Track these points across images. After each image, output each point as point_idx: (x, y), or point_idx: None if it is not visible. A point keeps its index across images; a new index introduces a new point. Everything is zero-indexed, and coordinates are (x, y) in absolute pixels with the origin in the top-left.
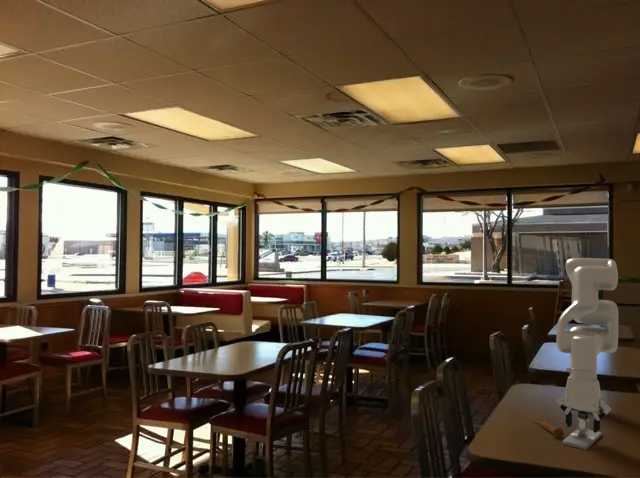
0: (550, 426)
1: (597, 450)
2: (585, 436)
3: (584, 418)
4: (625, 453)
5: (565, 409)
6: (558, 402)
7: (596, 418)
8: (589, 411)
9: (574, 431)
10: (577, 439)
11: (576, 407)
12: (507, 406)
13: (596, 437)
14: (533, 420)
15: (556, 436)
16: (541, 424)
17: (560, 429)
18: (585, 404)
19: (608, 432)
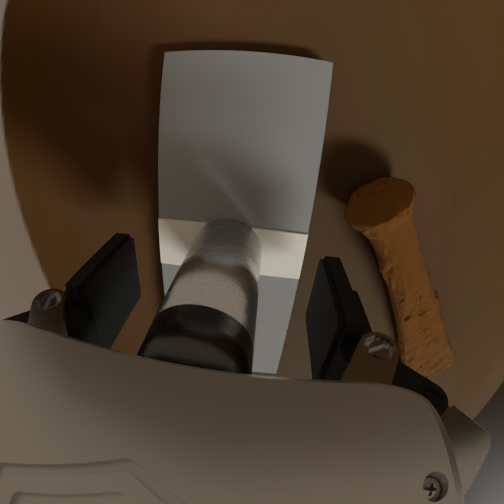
0: (424, 286)
1: (117, 93)
2: (202, 228)
3: (171, 310)
4: (28, 160)
5: (393, 382)
6: (469, 427)
7: (59, 308)
8: (43, 330)
9: (290, 315)
10: (244, 159)
11: (239, 400)
12: (473, 410)
13: (164, 286)
14: (452, 358)
15: (384, 178)
16: (443, 324)
17: (378, 216)
18: (37, 433)
19: None
